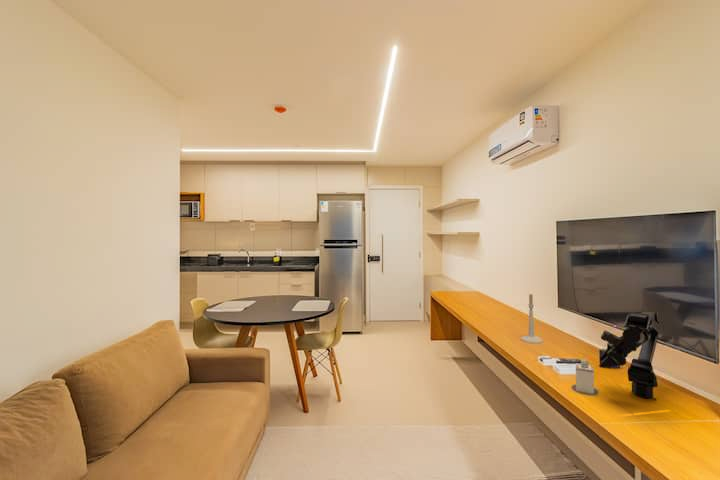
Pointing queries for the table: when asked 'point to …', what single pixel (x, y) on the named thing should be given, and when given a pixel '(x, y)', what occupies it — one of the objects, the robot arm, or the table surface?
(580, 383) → the rubber stamp
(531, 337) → the candlestick
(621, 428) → the table surface
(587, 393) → the gray disc
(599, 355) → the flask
